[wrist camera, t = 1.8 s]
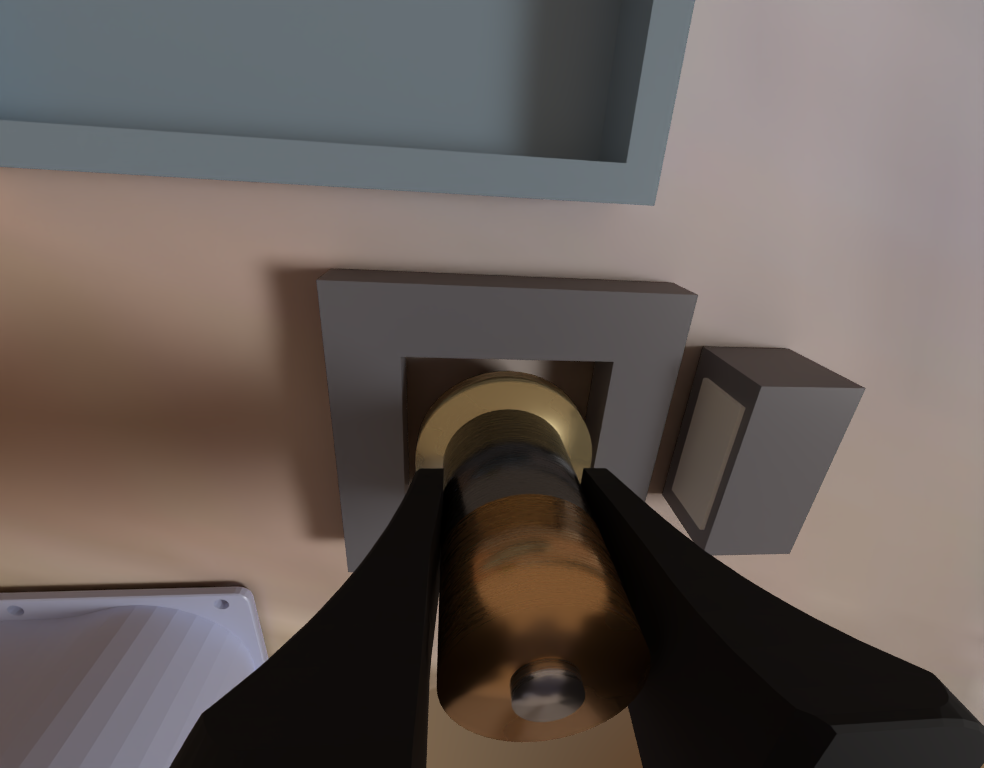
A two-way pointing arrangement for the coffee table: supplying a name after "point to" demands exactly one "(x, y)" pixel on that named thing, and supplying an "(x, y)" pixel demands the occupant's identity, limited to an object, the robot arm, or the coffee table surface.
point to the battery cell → (528, 590)
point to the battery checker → (612, 401)
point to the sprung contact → (499, 395)
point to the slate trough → (349, 92)
